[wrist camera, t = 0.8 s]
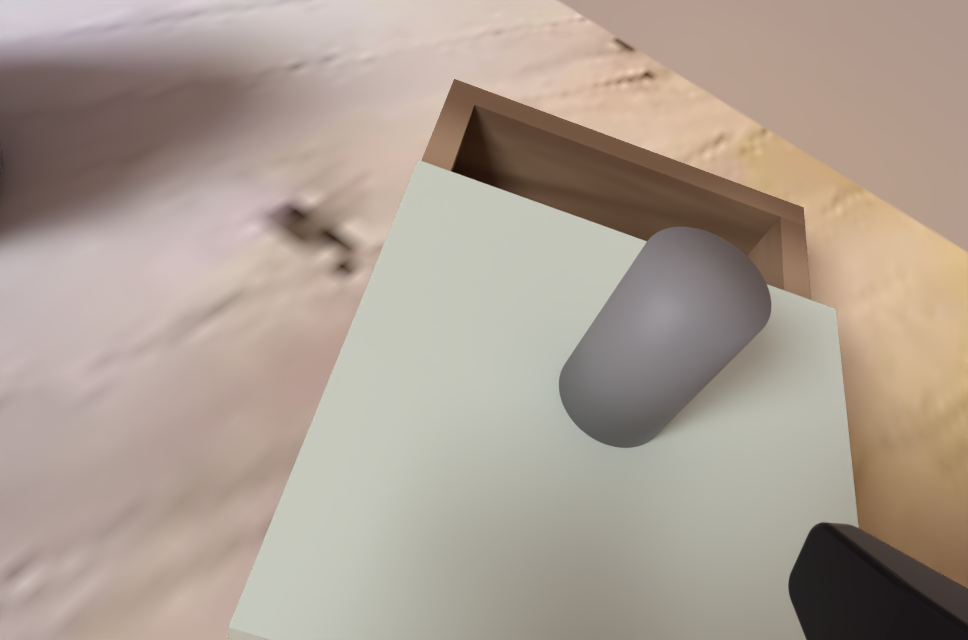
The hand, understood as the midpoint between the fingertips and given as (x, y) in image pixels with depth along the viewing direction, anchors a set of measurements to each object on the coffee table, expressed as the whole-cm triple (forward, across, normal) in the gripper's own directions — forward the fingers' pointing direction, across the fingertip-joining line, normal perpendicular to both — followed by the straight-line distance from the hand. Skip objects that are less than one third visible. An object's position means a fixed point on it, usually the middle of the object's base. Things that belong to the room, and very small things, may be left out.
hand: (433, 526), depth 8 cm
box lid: (+10, -6, +5) cm, 13 cm away
